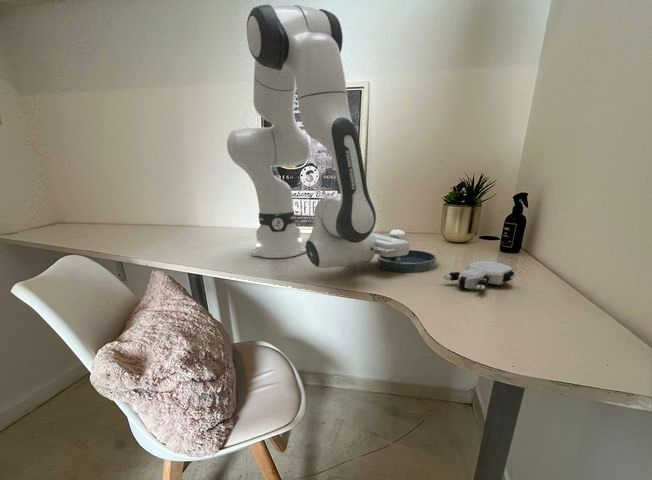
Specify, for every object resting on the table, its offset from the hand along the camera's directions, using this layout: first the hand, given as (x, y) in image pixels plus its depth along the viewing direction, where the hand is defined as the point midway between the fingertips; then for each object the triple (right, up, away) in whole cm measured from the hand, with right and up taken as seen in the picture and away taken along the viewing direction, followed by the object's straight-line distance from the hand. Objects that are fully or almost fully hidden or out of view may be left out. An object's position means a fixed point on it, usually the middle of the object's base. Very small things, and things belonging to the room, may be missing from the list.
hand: (399, 240), depth 99 cm
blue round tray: (+2, -7, +2) cm, 7 cm away
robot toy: (+17, -15, -17) cm, 28 cm away
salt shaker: (-1, -6, +2) cm, 6 cm away
